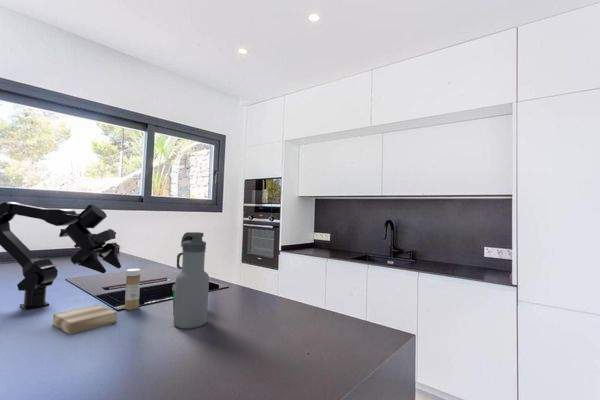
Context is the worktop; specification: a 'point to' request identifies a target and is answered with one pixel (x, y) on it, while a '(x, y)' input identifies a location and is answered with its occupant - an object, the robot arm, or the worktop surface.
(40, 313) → the worktop surface
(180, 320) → the water bottle
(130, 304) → the sprinkles bottle
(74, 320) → the oak stand
